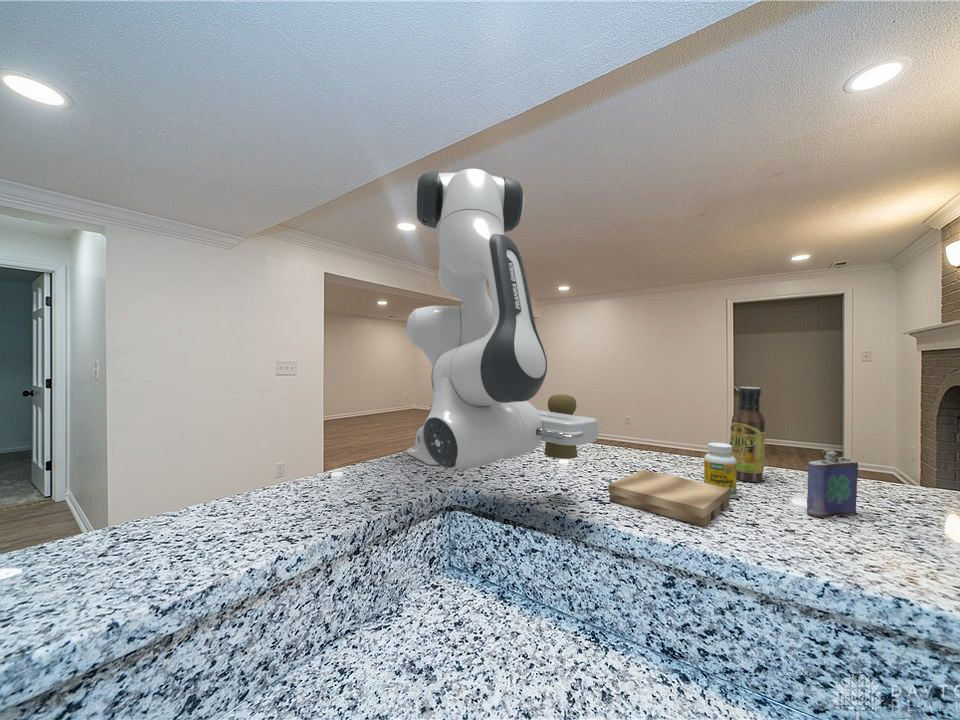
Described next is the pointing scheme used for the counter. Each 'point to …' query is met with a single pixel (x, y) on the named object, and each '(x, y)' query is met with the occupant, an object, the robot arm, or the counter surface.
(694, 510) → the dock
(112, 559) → the counter surface
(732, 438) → the sauce bottle
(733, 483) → the supplement bottle
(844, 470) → the flask
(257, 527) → the counter surface
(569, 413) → the cork
